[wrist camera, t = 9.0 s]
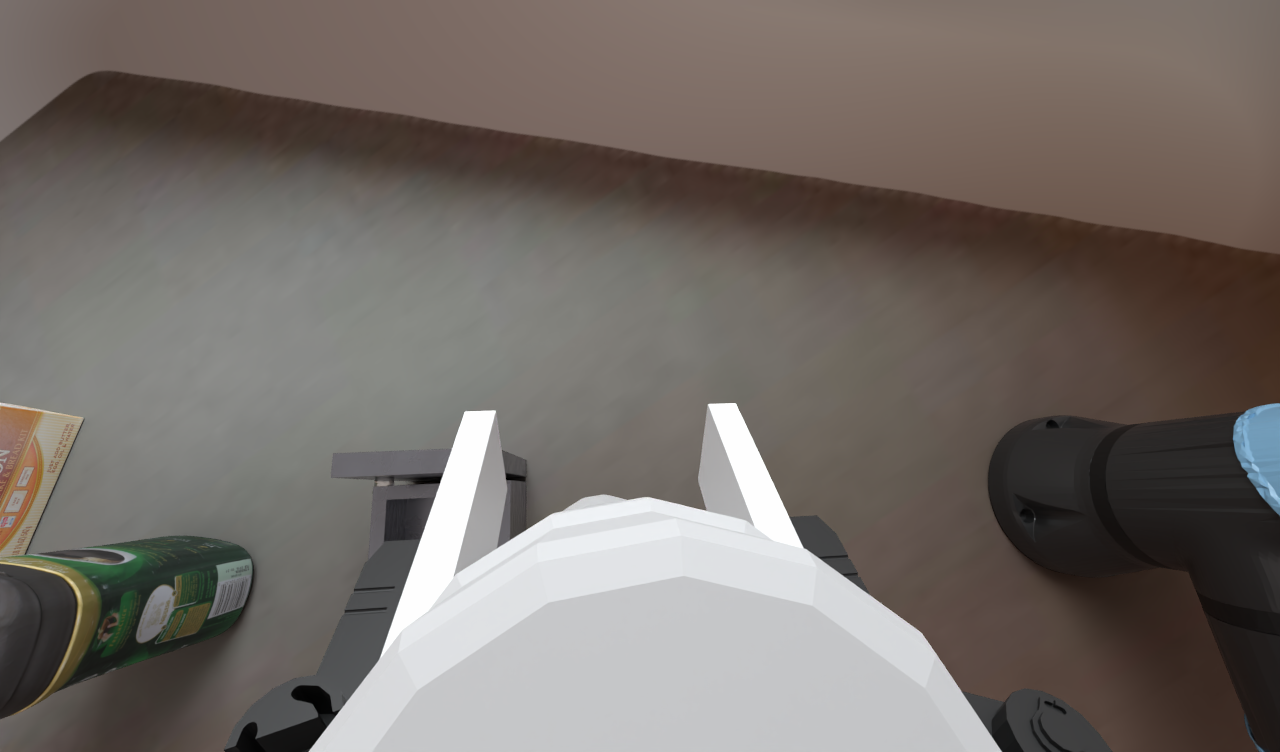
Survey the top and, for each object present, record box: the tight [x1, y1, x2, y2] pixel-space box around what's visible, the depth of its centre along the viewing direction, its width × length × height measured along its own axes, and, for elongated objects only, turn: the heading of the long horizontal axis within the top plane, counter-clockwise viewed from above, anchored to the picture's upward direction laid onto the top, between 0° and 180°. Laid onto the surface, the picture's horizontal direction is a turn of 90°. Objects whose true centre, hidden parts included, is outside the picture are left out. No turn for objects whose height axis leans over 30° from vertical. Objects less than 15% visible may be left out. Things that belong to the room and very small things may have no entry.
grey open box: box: [331, 449, 526, 560], centre depth 37 cm, size 12×10×14 cm
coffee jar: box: [0, 536, 253, 719], centre depth 32 cm, size 10×8×19 cm
